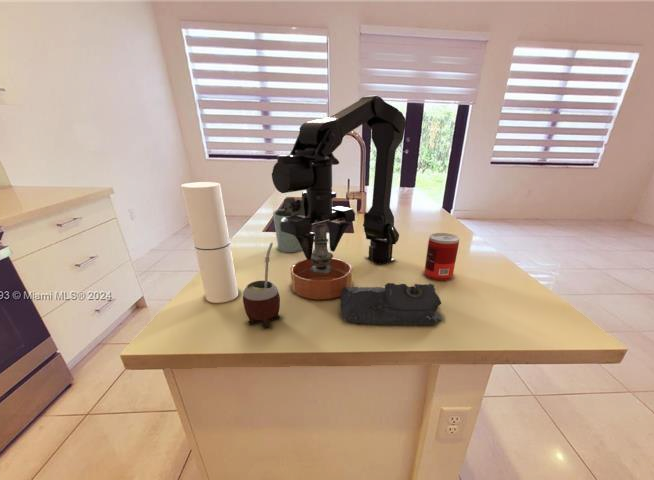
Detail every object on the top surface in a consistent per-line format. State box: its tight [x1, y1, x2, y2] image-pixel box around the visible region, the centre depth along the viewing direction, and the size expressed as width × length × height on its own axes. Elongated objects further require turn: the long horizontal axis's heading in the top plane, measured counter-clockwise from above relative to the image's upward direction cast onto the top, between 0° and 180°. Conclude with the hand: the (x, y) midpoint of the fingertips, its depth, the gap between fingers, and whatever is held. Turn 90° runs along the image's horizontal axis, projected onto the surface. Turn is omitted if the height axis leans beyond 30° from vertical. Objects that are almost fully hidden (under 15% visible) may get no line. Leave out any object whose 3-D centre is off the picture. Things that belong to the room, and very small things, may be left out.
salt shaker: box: [311, 223, 334, 273], centre depth 75 cm, size 6×6×12 cm
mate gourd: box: [242, 242, 281, 329], centre depth 62 cm, size 8×8×15 cm
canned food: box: [424, 232, 460, 281], centre depth 85 cm, size 8×8×11 cm
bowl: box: [289, 257, 353, 300], centre depth 78 cm, size 15×15×5 cm
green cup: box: [272, 208, 306, 253], centre depth 102 cm, size 10×10×12 cm
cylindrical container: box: [180, 181, 239, 304], centre depth 68 cm, size 7×7×25 cm
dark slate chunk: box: [339, 282, 443, 327], centre depth 70 cm, size 15×22×5 cm
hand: (321, 255), depth 76 cm, fingers closed on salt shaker, 8 cm apart
